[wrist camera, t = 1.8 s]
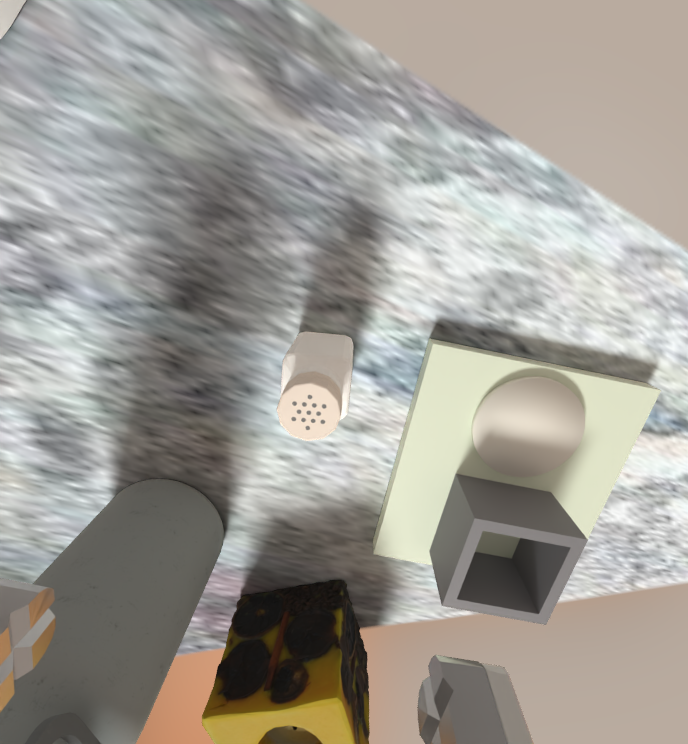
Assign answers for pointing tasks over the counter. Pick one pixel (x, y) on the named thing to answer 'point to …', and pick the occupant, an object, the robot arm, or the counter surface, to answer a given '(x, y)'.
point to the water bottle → (117, 617)
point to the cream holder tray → (506, 474)
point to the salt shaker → (315, 384)
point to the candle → (292, 671)
